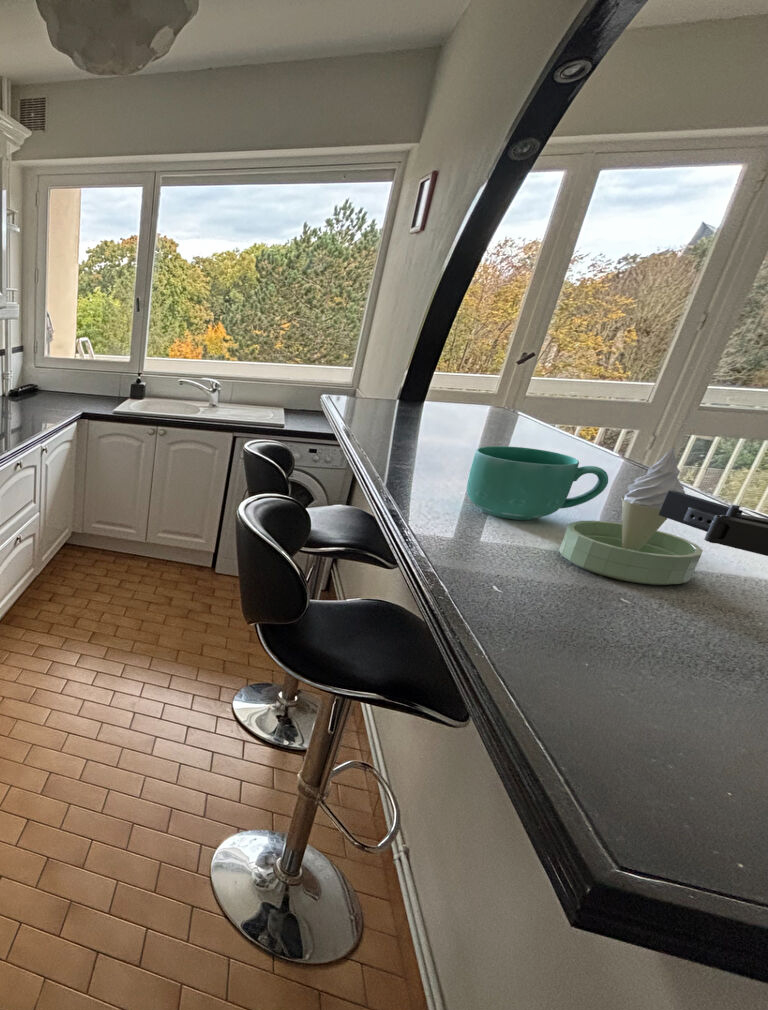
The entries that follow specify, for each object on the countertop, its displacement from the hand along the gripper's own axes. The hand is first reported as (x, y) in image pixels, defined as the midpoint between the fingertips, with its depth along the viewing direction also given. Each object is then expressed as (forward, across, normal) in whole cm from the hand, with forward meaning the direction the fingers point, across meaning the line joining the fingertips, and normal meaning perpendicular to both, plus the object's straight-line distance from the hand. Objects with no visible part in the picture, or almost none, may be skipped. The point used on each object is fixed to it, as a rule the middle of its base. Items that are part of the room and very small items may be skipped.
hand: (730, 503), depth 62 cm
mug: (+28, +2, -11) cm, 30 cm away
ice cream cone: (+8, 0, -11) cm, 14 cm away
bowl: (+8, 0, -11) cm, 14 cm away
